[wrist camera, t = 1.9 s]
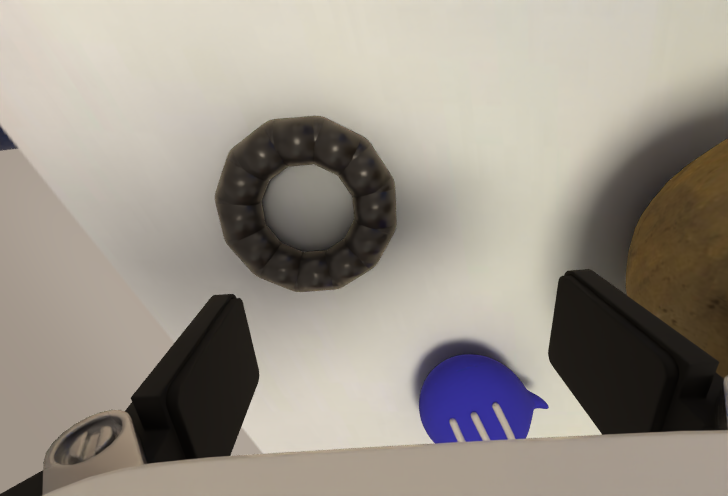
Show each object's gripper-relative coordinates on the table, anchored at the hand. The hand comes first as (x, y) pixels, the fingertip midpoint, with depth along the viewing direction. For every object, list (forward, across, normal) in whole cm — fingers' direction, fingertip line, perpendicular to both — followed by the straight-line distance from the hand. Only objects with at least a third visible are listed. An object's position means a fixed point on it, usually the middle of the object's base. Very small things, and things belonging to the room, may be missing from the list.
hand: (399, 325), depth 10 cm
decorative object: (+15, -7, +17) cm, 24 cm away
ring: (+14, +5, 0) cm, 14 cm away
